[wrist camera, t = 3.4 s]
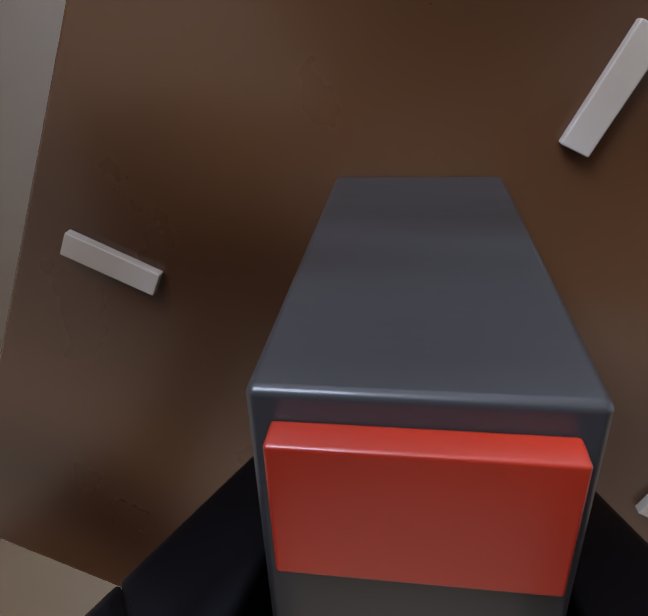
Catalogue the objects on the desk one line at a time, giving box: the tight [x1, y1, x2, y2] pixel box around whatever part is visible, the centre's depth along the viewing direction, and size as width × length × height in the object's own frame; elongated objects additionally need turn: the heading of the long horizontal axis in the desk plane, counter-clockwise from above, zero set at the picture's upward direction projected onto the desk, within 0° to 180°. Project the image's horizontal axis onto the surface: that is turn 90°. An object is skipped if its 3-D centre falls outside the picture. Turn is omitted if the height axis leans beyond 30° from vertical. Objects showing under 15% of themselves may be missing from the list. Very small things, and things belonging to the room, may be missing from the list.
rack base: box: [0, 0, 648, 587], centre depth 10 cm, size 14×12×3 cm
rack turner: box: [246, 177, 614, 616], centre depth 7 cm, size 6×2×5 cm, turn 2°
